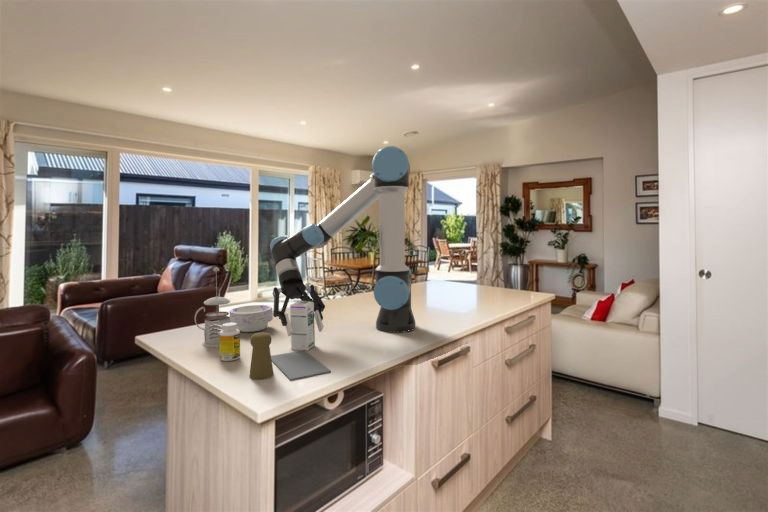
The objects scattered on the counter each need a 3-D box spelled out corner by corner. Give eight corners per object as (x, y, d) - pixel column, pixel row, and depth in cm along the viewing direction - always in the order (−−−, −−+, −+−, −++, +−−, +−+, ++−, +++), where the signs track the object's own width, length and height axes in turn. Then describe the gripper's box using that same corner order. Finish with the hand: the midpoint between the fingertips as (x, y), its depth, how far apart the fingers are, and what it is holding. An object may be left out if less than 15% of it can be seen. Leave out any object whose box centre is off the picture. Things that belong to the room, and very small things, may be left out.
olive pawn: (244, 378, 98) (243, 336, 97) (256, 370, 104) (255, 329, 103) (267, 380, 97) (266, 337, 96) (277, 371, 103) (276, 330, 102)
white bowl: (223, 328, 146) (223, 307, 146) (262, 322, 156) (261, 302, 156) (239, 337, 135) (239, 314, 134) (280, 329, 145) (279, 308, 144)
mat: (268, 357, 114) (268, 356, 114) (304, 351, 120) (304, 350, 120) (290, 380, 97) (290, 379, 97) (330, 372, 103) (330, 370, 103)
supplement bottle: (236, 362, 110) (235, 326, 109) (216, 361, 110) (215, 326, 109) (243, 355, 116) (242, 321, 115) (224, 355, 116) (224, 321, 115)
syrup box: (308, 350, 120) (307, 304, 119) (290, 349, 122) (289, 303, 120) (315, 345, 126) (314, 301, 125) (298, 344, 127) (297, 300, 126)
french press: (236, 344, 126) (234, 268, 125) (196, 350, 121) (194, 269, 119) (231, 337, 135) (229, 265, 133) (194, 341, 129) (192, 266, 127)
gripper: (316, 279, 141) (335, 333, 129) (254, 284, 130) (268, 343, 117) (322, 266, 136) (342, 320, 124) (258, 270, 125) (273, 329, 112)
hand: (306, 331), depth 121 cm, fingers open, 9 cm apart
